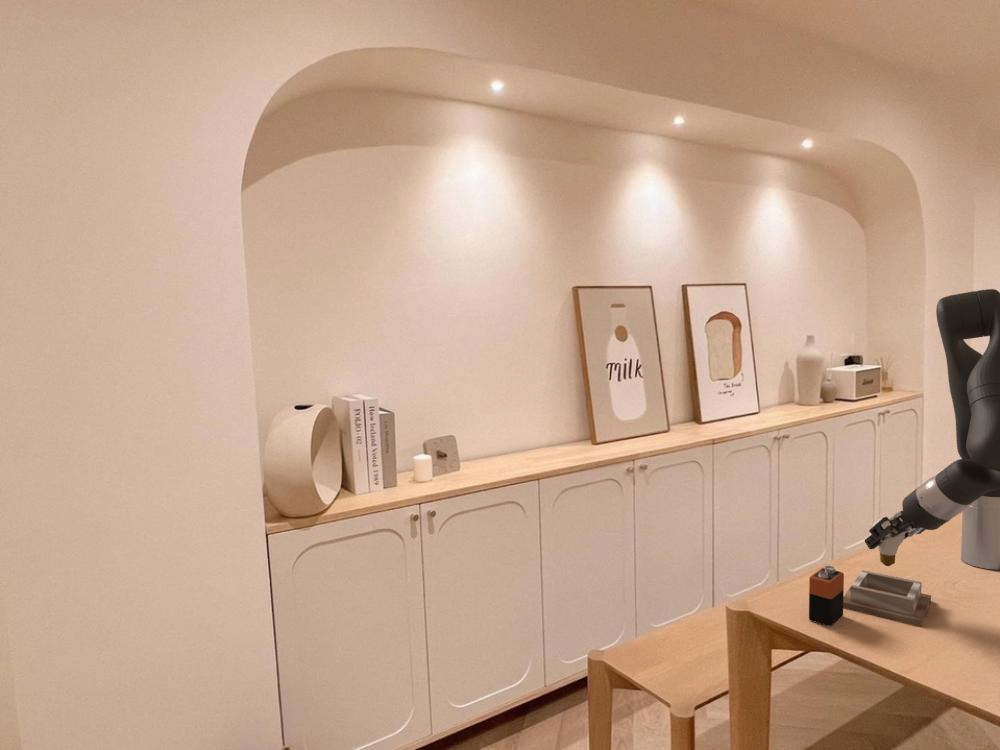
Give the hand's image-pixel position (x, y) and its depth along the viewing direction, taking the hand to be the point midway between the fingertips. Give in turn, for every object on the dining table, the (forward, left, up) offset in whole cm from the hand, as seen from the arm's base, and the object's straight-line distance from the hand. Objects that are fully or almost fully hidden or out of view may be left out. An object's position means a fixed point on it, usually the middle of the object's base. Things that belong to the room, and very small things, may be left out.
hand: (880, 542), depth 133 cm
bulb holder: (+1, +1, -13) cm, 13 cm away
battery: (+15, -7, -13) cm, 21 cm away
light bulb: (+1, +1, -4) cm, 5 cm away
